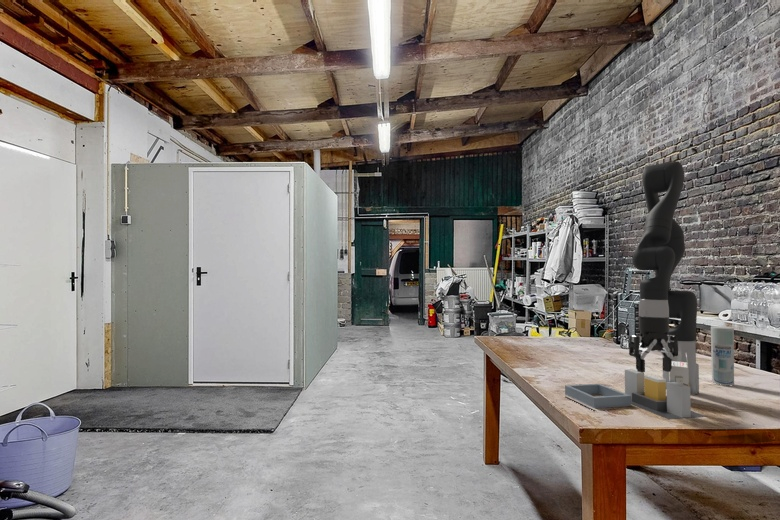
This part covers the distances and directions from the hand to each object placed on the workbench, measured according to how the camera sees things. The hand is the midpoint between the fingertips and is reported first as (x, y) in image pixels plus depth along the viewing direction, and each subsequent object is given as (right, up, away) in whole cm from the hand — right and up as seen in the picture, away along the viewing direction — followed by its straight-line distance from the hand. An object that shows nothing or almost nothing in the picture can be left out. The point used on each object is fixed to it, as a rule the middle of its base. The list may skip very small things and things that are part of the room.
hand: (653, 371), depth 126 cm
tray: (-14, -11, +5) cm, 18 cm away
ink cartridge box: (+11, -11, +6) cm, 17 cm away
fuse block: (0, -11, 0) cm, 11 cm away
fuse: (0, -10, 0) cm, 10 cm away
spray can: (+42, -12, +28) cm, 52 cm away
